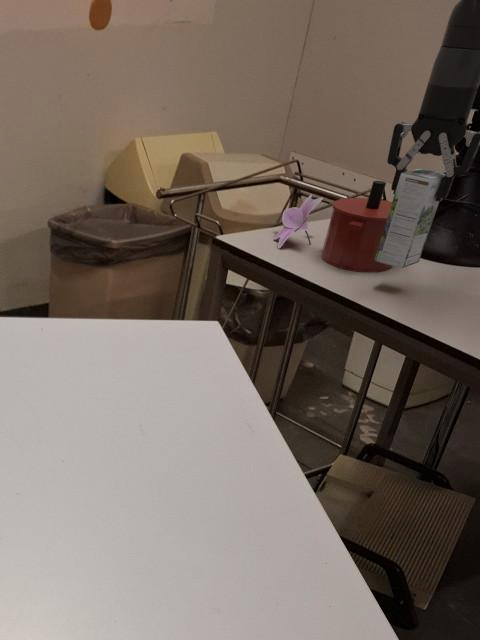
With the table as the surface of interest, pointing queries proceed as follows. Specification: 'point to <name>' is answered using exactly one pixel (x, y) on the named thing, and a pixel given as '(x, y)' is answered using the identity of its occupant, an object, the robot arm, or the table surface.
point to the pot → (353, 243)
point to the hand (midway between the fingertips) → (417, 196)
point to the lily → (296, 220)
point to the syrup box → (409, 218)
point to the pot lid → (366, 204)
